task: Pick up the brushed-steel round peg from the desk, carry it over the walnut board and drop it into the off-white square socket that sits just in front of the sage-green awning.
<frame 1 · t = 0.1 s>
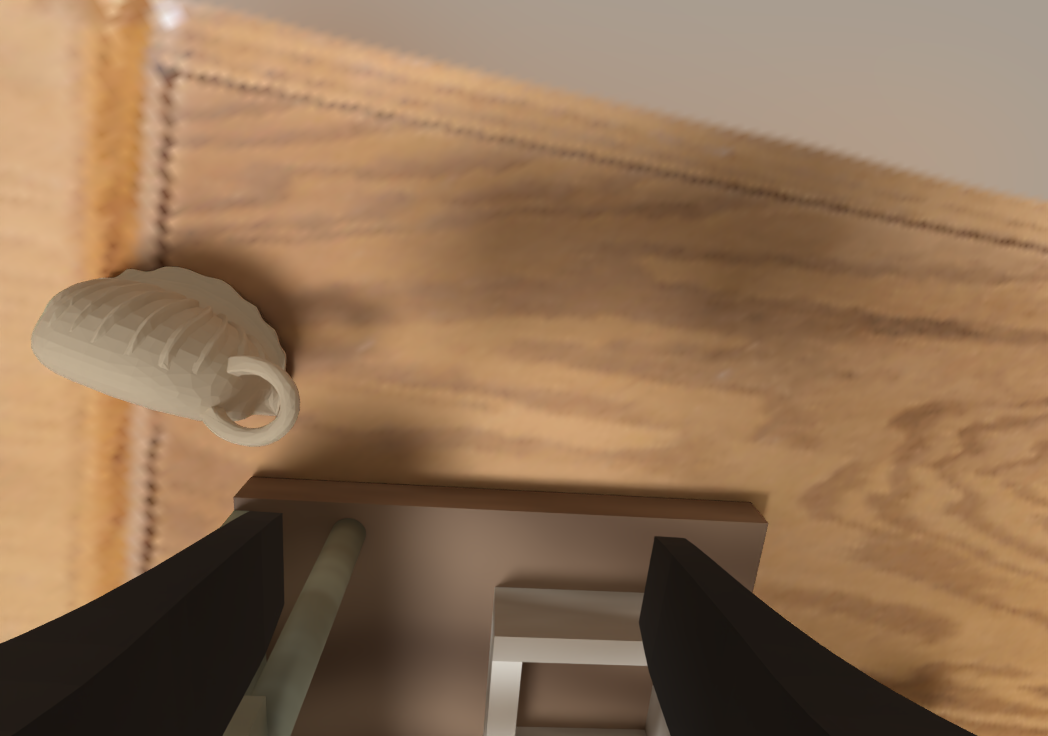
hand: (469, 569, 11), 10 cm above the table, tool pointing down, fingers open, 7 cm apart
socket stand: (495, 641, 24), on the table
decorative ornament: (216, 342, 20), on the table
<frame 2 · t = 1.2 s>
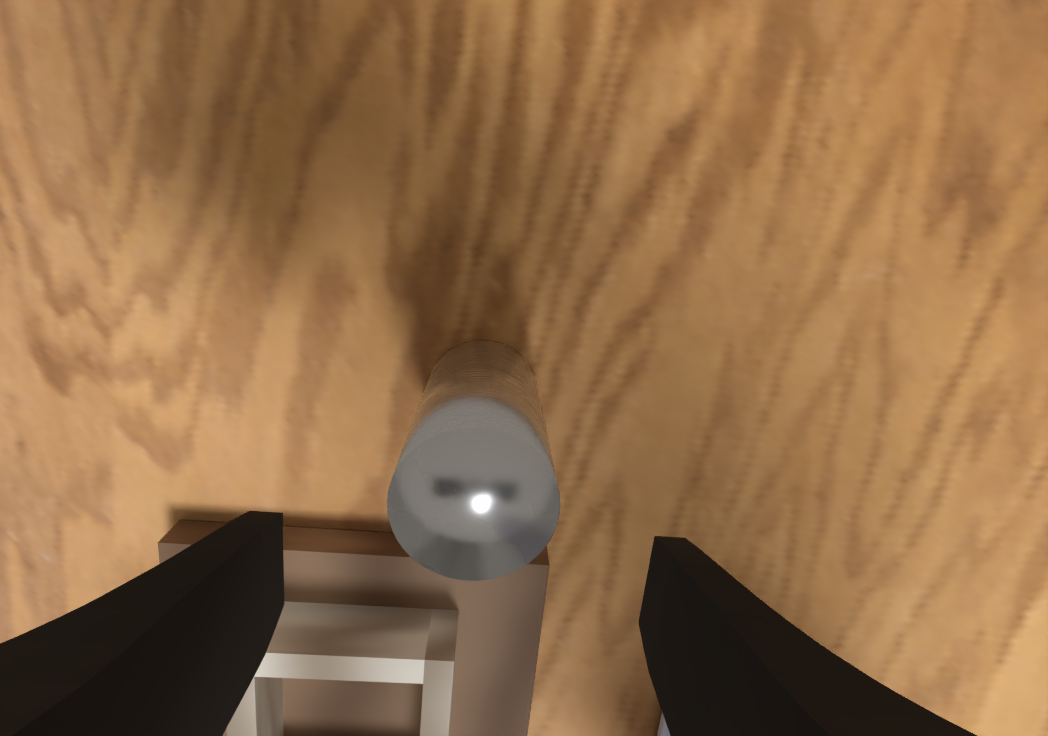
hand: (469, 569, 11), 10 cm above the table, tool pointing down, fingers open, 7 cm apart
steel peg: (482, 393, 21), on the table
socket stand: (362, 722, 25), on the table
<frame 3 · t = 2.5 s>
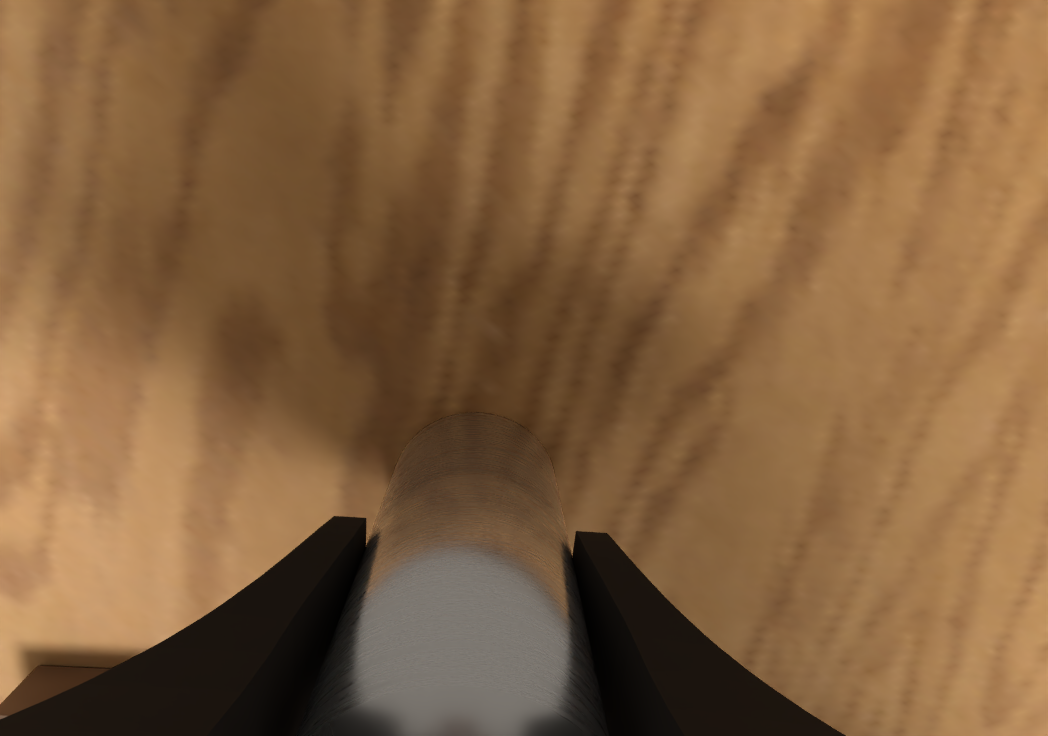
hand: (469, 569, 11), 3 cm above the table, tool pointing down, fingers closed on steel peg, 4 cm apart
steel peg: (474, 488, 14), on the table, touching gripper
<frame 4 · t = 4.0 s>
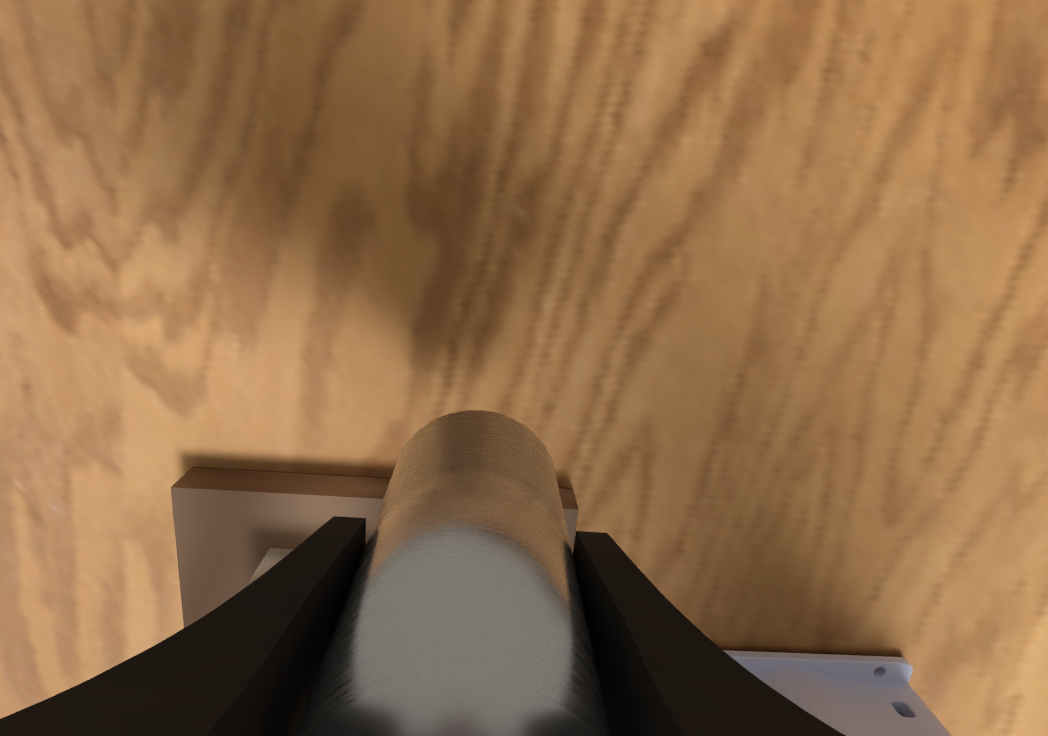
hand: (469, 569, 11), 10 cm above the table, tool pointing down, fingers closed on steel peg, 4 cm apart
steel peg: (475, 486, 14), point 7 cm above the table, touching gripper
socket stand: (382, 681, 24), on the table
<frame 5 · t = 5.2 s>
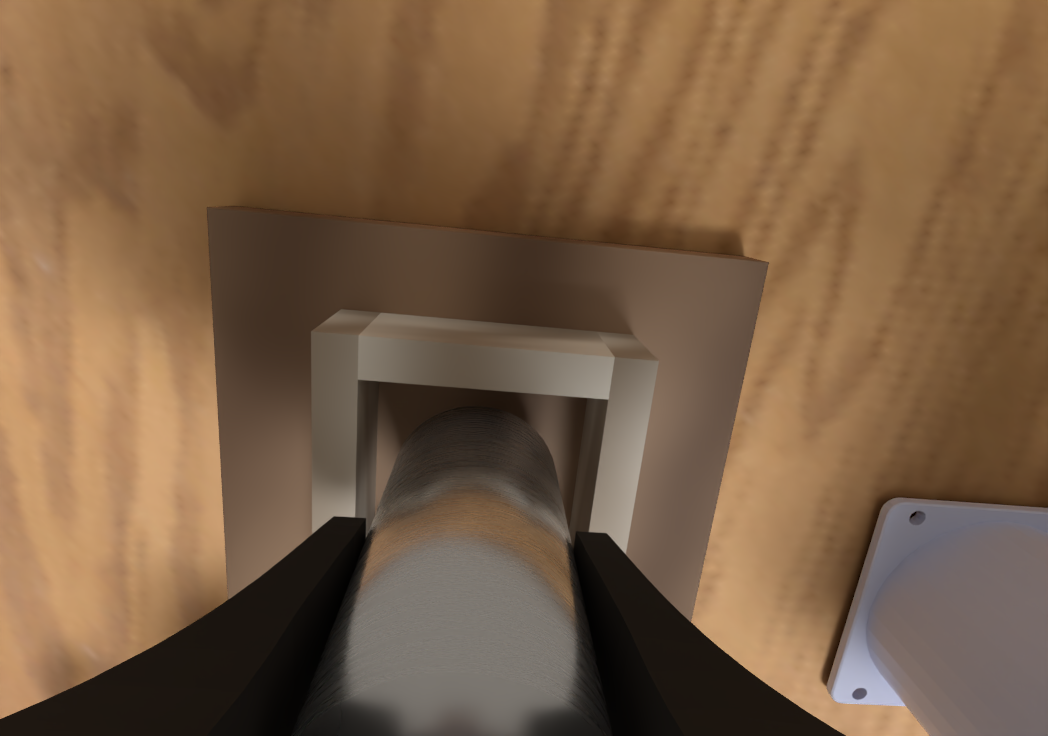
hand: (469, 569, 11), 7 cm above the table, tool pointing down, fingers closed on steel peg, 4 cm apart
steel peg: (475, 482, 14), point 3 cm above the table, touching gripper
socket stand: (471, 535, 19), on the table
when the fingers open (5 cm above the table, at t = 5.9 s): steel peg stays where it is, resting on socket stand.
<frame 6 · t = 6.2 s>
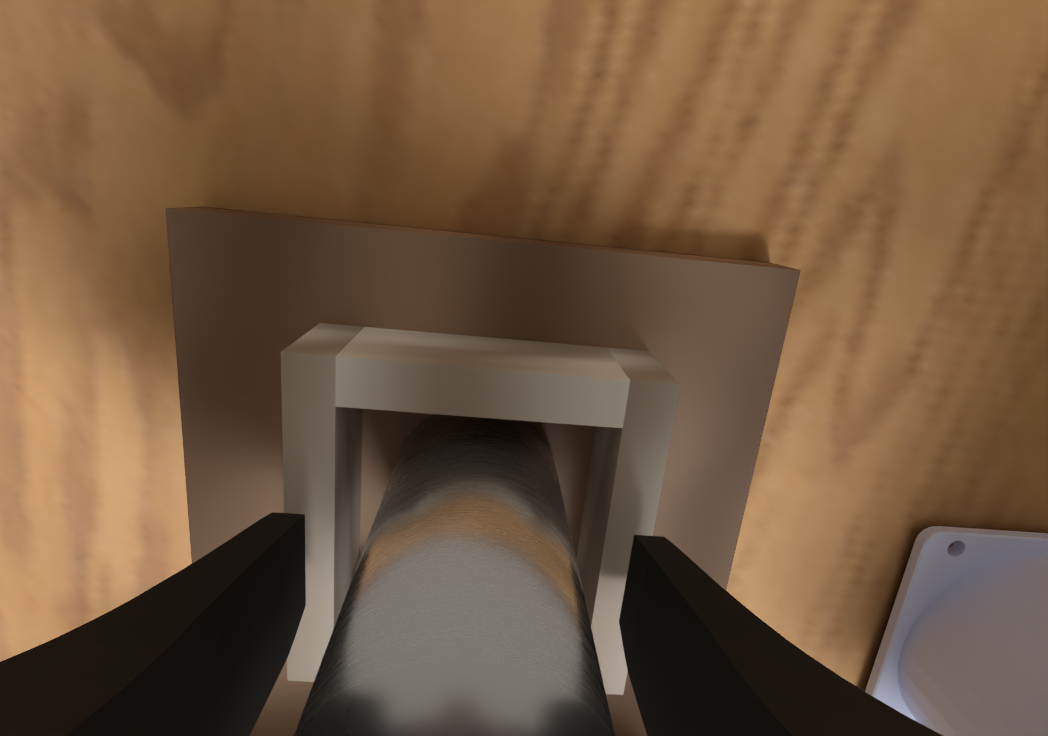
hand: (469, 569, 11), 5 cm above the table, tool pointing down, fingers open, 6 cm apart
steel peg: (476, 478, 14), point 2 cm above the table, touching socket stand
socket stand: (468, 567, 17), on the table
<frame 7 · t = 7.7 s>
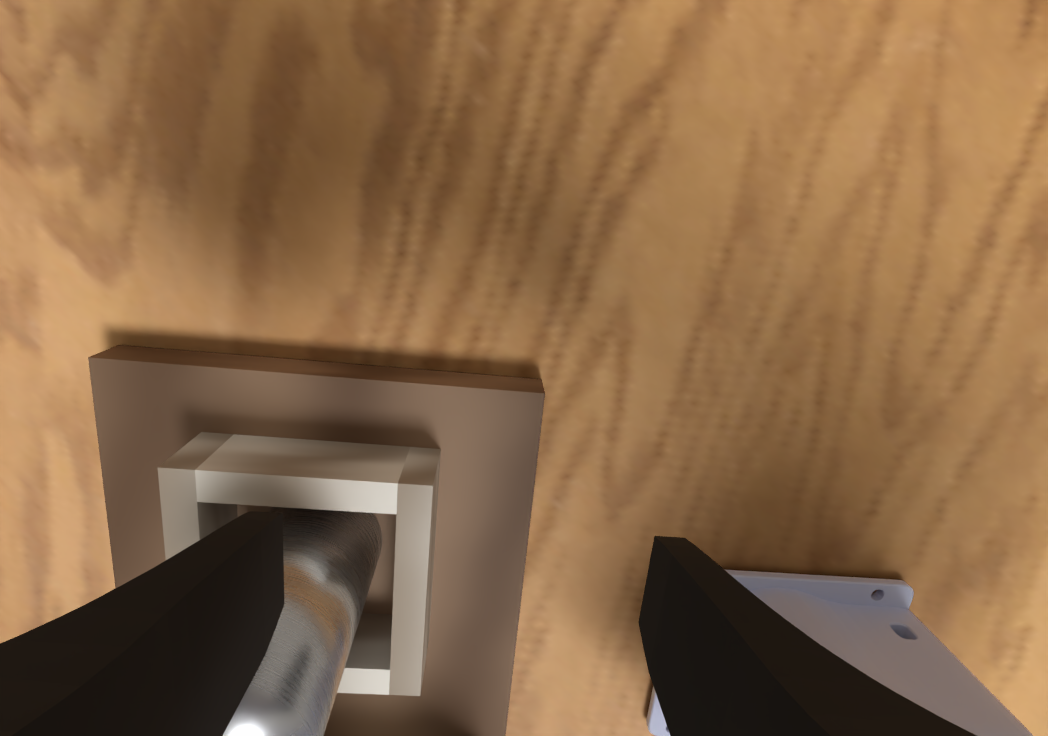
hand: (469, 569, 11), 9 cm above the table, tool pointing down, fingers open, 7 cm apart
steel peg: (323, 538, 20), point 2 cm above the table, touching socket stand
socket stand: (333, 599, 22), on the table
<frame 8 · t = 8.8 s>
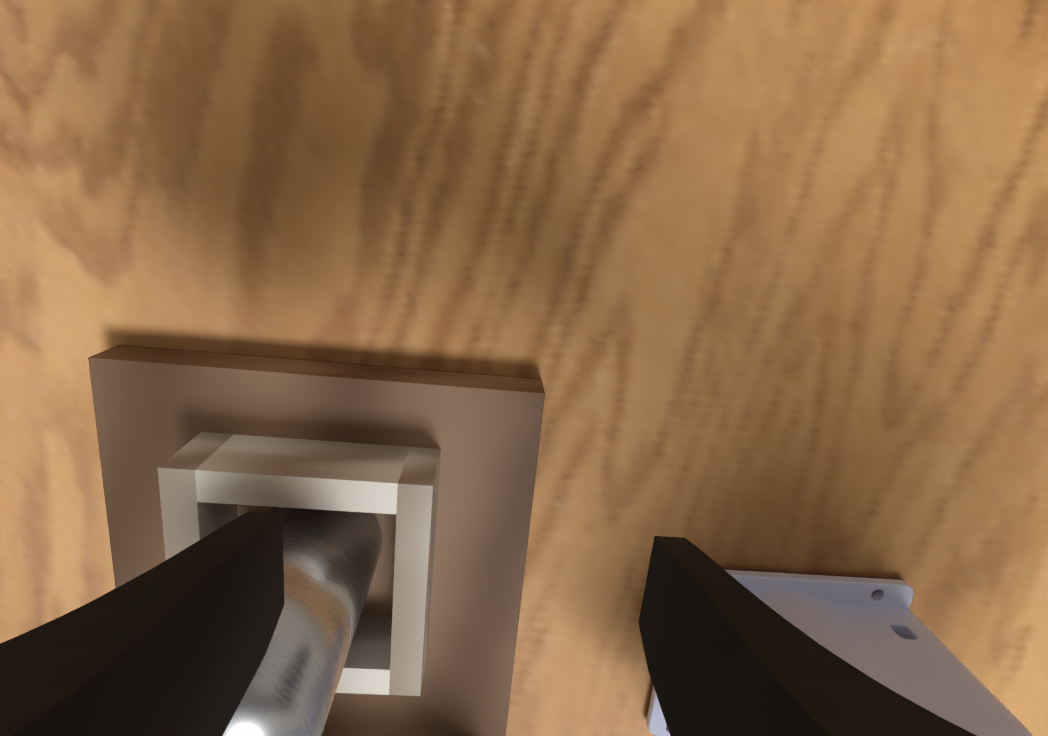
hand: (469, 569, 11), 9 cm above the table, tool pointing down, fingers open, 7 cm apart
steel peg: (322, 539, 20), point 2 cm above the table, touching socket stand
socket stand: (333, 599, 22), on the table
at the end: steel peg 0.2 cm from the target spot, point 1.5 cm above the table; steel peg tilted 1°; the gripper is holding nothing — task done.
